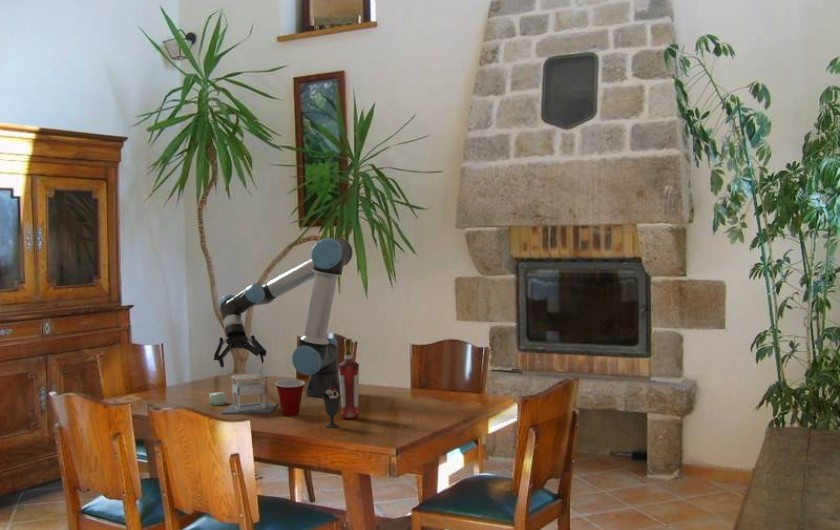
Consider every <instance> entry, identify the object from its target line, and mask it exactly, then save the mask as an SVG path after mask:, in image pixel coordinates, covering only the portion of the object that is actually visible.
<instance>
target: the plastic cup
mask: <svg viewBox="0 0 840 530" xmlns="http://www.w3.org/2000/svg"><path fill="white" fill-rule="evenodd" d="M274 385H275V386H276V390H277V393H278V397H279V404H280V409H281V414H282V415H283V416H285V417H292V416H293V417H294V416H298V415H299V413H300V408H301V403H302V402H301V401H302V397H303V395H302V394H303V392H304V391H303V389H304V386H305V385H306V382H305V381H304V380H300V379H282V380H278V381H275V382H274Z"/></svg>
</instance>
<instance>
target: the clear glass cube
mask: <svg viewBox="0 0 840 530" xmlns="http://www.w3.org/2000/svg"><path fill="white" fill-rule="evenodd" d="M235 380H236V382H235ZM252 380H253V381H252ZM256 380H257V381H256ZM262 380H263V381H262ZM241 381H243V382H241ZM231 392H232V393H231V397H232V401H231V402H232V403H231V404H232V405H233V408H235V409H236V410H237V411H238V412H241V411H251V410H262V409H268V404H269V403H268V377H267V375H264V374H263V373H262V372H259V373H258V372H257V373H255V372H254V373H247V374H246V373H244V374H243V373H242V374H232V375H231ZM263 394H264V403H263V402H262V399H263V398H262V396H263ZM247 395H258V402H254V403H241V396H247ZM236 396H237V404H238V405H235V404H236ZM240 404H241V405H240ZM264 404H265V405H264ZM251 405H261V406H262V408H251V409H241V410H240V406H251Z"/></svg>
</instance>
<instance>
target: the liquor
mask: <svg viewBox="0 0 840 530" xmlns="http://www.w3.org/2000/svg"><path fill="white" fill-rule="evenodd" d="M343 342H344V343H343V344H344V359H343V361H342V362H341V361H340V363H338V376H339V383H340V395H339V396H341V398H340V408H341V409H340V410H341V412H340V415H339V416H341V418H343V419H344V420H355V418H356V419H357V418H358V417H359V415H360V411H359V384H360V383H359V382H360V381H359V380H360V364H359V363H358V362H356V361H354V360H353V352H352V350H353V349H352V347H353V346H352V345H353V340H352V338H344V341H343Z"/></svg>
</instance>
